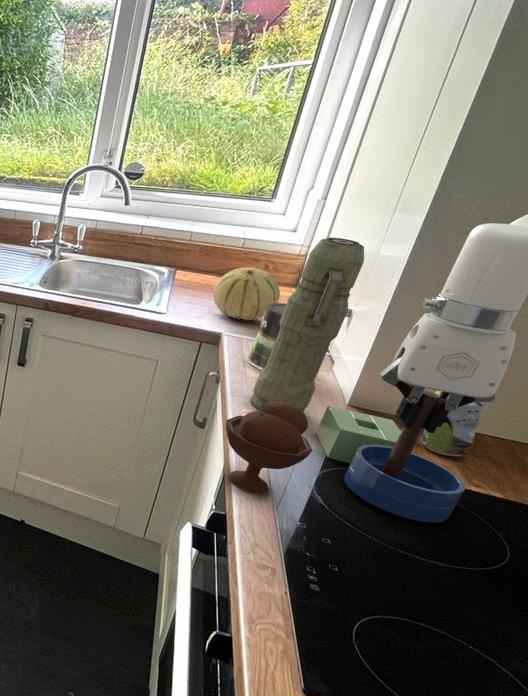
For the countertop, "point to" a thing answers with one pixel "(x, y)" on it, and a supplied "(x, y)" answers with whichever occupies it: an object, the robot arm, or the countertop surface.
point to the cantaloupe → (246, 293)
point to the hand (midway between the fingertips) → (415, 425)
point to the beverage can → (455, 431)
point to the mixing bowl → (404, 485)
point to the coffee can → (266, 335)
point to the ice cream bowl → (267, 442)
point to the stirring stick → (410, 436)
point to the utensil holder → (353, 432)
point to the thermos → (310, 323)
